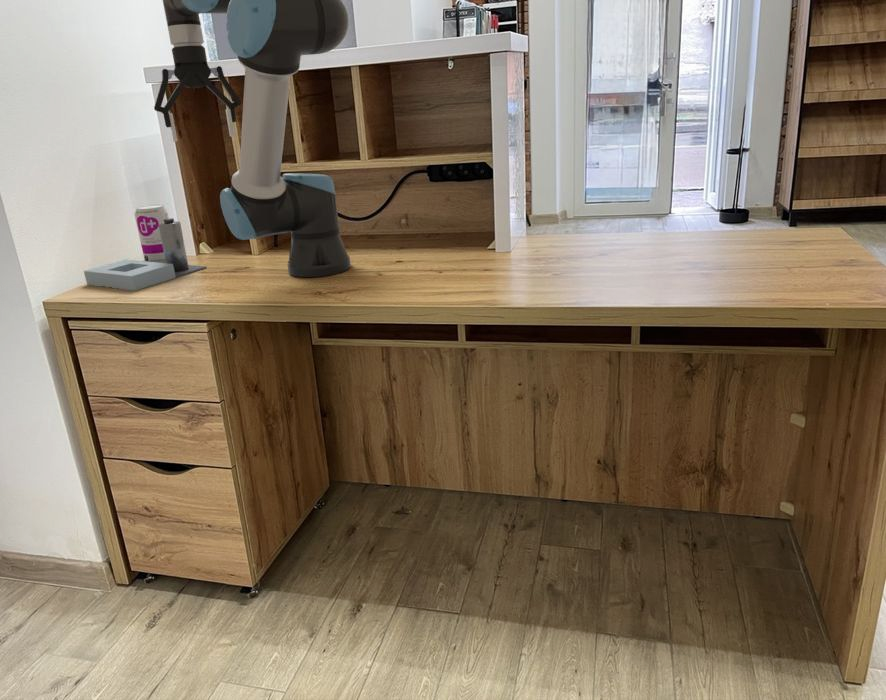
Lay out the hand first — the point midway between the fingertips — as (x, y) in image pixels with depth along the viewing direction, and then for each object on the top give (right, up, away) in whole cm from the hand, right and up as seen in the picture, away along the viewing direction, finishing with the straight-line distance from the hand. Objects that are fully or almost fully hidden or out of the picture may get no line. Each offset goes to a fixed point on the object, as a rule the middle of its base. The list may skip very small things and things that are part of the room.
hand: (204, 139), depth 174 cm
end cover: (-9, -32, +6) cm, 34 cm away
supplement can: (-19, -28, +19) cm, 39 cm away
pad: (-9, -32, +7) cm, 34 cm away
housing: (-18, -35, 0) cm, 40 cm away
